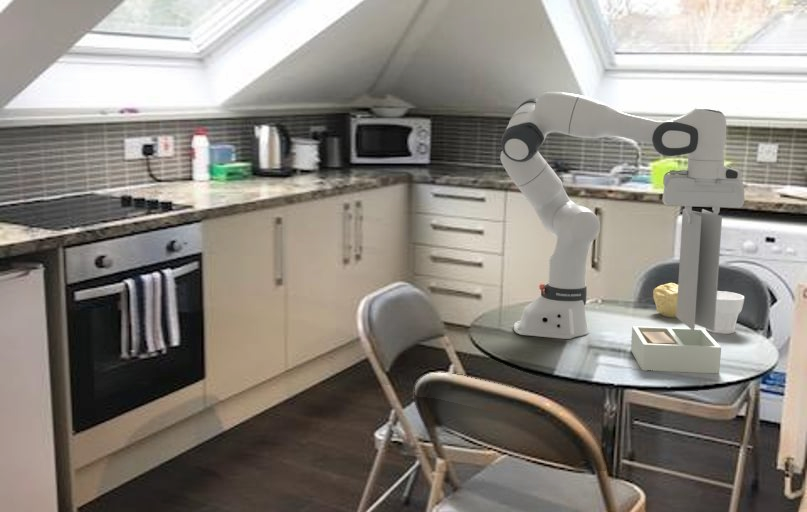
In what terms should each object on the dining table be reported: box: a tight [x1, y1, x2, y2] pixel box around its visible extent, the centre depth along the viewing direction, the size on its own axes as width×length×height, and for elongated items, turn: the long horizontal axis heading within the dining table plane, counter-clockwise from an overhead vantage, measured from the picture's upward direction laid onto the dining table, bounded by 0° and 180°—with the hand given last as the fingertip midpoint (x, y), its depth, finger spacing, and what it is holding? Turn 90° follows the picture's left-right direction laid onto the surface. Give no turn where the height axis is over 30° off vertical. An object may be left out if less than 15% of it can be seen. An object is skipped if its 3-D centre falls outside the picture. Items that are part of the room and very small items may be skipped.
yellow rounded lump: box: [652, 282, 678, 318], centre depth 283 cm, size 12×12×11 cm
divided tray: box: [630, 325, 722, 374], centre depth 234 cm, size 20×18×7 cm
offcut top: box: [642, 332, 676, 344], centre depth 234 cm, size 6×11×4 cm, turn 0°
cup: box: [705, 290, 745, 335], centre depth 266 cm, size 12×12×11 cm
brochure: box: [675, 208, 723, 331], centre depth 229 cm, size 14×6×30 cm, turn 0°
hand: (700, 223), depth 227 cm, fingers closed on brochure, 3 cm apart
